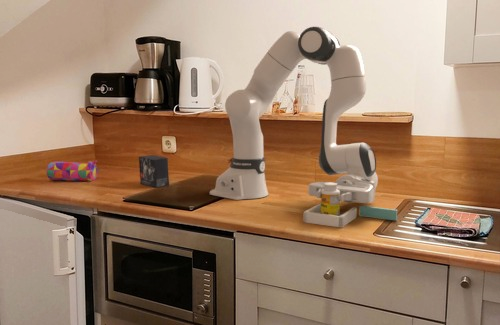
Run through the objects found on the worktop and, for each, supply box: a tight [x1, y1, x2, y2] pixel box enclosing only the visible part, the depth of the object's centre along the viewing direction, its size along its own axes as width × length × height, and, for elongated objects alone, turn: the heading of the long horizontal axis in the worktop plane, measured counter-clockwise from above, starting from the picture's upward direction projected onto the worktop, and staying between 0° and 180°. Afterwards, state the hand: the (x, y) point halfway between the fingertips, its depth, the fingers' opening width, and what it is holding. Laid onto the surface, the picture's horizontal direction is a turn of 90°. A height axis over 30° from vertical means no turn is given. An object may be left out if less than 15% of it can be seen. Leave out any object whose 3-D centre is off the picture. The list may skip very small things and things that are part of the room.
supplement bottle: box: [320, 181, 341, 216], centre depth 137 cm, size 6×6×10 cm
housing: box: [302, 202, 358, 229], centre depth 138 cm, size 12×12×3 cm
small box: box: [138, 154, 170, 189], centre depth 194 cm, size 13×7×12 cm, turn 42°
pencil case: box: [46, 160, 100, 182], centre depth 208 cm, size 22×9×9 cm, turn 87°
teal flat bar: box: [359, 205, 398, 221], centre depth 138 cm, size 11×1×3 cm, turn 58°
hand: (329, 196), depth 136 cm, fingers closed on supplement bottle, 5 cm apart
